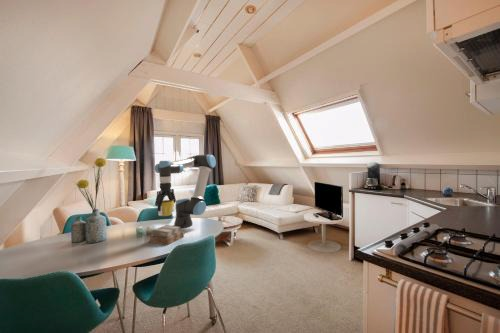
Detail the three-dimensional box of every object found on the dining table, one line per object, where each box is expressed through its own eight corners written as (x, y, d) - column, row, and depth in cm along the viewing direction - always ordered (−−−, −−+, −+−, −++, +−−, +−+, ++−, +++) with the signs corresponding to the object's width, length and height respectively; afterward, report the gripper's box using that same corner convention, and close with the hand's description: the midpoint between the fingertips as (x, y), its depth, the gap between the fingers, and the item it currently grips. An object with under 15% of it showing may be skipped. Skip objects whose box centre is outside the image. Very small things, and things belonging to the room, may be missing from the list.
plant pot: (174, 215, 154) (174, 201, 154) (158, 217, 150) (157, 203, 150) (173, 212, 163) (173, 199, 163) (158, 214, 160) (158, 200, 159)
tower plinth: (166, 234, 168) (166, 224, 168) (183, 237, 162) (183, 226, 161) (149, 242, 153) (149, 230, 153) (167, 245, 147) (167, 233, 147)
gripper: (172, 181, 168) (173, 210, 169) (148, 184, 147) (149, 217, 148) (180, 181, 165) (181, 210, 166) (156, 184, 144) (157, 218, 145)
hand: (166, 213), depth 157 cm, fingers closed on plant pot, 10 cm apart
